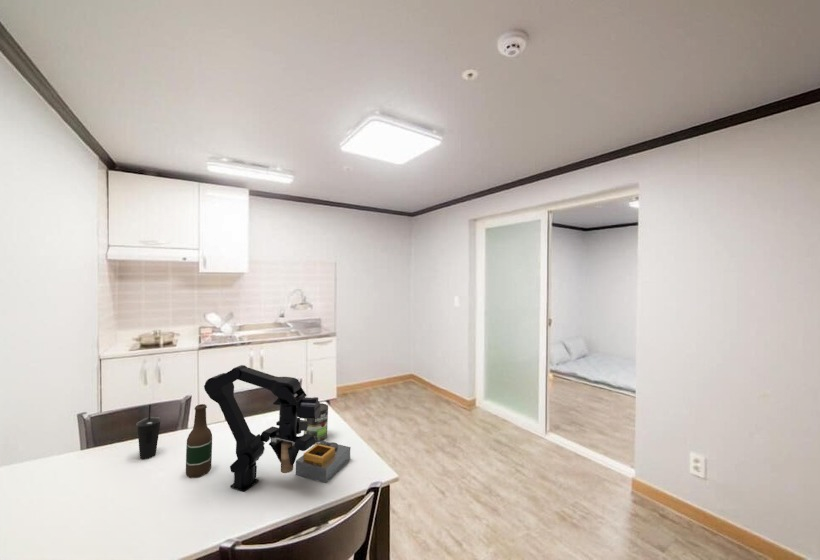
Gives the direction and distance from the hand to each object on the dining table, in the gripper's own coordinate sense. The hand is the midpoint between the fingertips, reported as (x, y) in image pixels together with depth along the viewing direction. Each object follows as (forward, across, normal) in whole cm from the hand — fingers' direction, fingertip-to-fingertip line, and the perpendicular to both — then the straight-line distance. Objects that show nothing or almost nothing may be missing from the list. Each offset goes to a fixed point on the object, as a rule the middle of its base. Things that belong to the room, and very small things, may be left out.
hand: (287, 463), depth 109 cm
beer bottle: (+8, +35, +5) cm, 36 cm away
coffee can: (+8, +12, -32) cm, 35 cm away
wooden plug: (+2, 0, 0) cm, 2 cm away
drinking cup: (+8, +63, +5) cm, 64 cm away
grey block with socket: (+8, -4, -15) cm, 18 cm away
